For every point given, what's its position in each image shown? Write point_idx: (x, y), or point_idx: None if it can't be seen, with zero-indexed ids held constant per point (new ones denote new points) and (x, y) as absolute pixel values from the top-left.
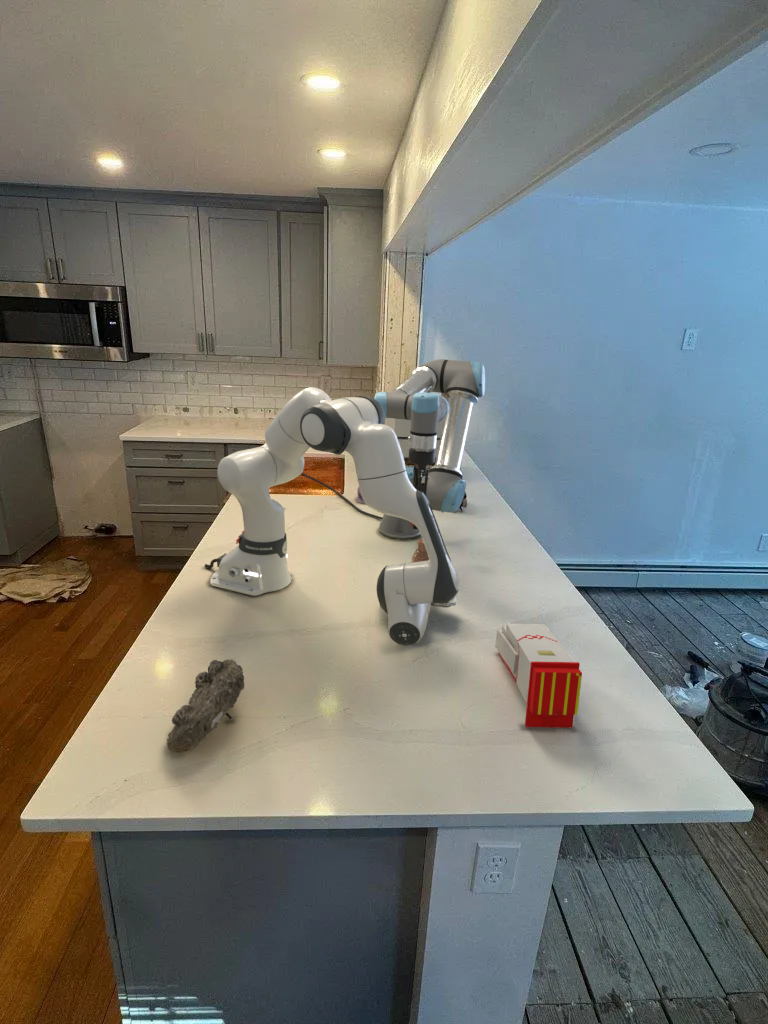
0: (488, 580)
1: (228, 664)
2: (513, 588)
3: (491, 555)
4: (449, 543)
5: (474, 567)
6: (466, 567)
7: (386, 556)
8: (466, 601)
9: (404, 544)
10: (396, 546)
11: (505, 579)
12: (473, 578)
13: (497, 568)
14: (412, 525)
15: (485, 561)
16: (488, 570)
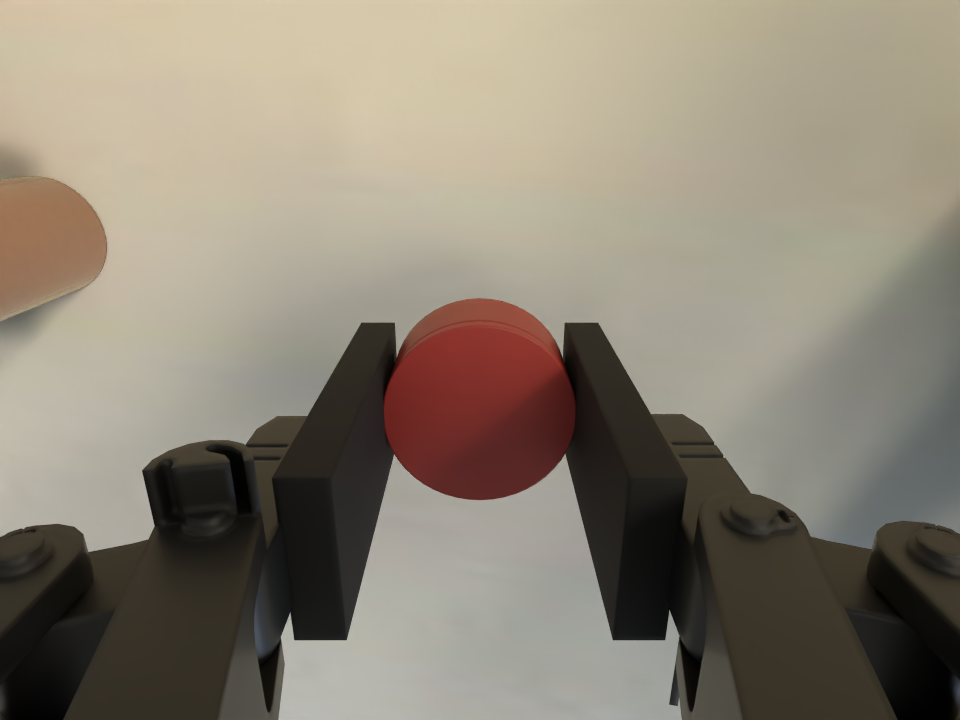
0: (364, 627)
1: None
2: (290, 705)
3: (670, 696)
4: (875, 526)
5: (518, 595)
6: (518, 558)
7: (714, 61)
8: (105, 489)
9: (921, 229)
10: (895, 162)
11: (383, 695)
12: (380, 566)
13: (507, 690)
14: (417, 324)
15: (595, 657)
16: (482, 649)
